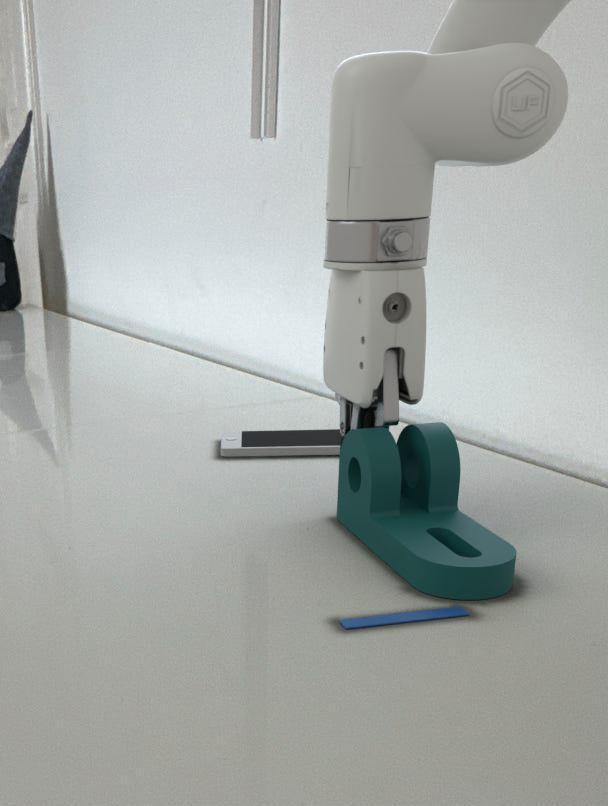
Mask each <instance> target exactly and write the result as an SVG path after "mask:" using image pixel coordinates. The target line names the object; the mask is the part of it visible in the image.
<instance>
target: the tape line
mask: <svg viewBox="0 0 608 806" xmlns="http://www.w3.org/2000/svg"><path fill="white" fill-rule="evenodd" d="M469 615H470V613H469V612H468V611H467V610H465V609H464V608H463V607H462V606H459V605H458V606H451V607H443V608H435V609H426V610H417V611H407V612H397V613H390V614H381V615H372V616H363V617H355V618H346V619H339V620H338V623H340V625H341V626H342V627H343V628H344V629H345V630H352V629H361V628H369V627H377V626H385V625H394V624H395V625H396V624H403V623H411V622H412V623H413V622H420V621H429V620H436V619H437V620H438V619H439V620H440V619H446V618H454V617H455V618H457V617H464V616H465V617H466V616H469Z"/></svg>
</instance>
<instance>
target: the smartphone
mask: <svg viewBox="0 0 608 806" xmlns="http://www.w3.org/2000/svg"><path fill="white" fill-rule="evenodd" d="M341 437H345V436H342V435H341V433H340V428H326V429H325V428H323V429H322V428H319V429H273V430H272V429H271V430H270V429H269V430H268V429H267V430H228V431H227V430H225V431H222V432H221V440H220V441H221V442H220V456H221V457H269V456H270V457H271V456H273V457H274V456H323V455H324V456H325V455H327V456H329V455H331V456H333V455H334V456H335V455H340V441H341Z"/></svg>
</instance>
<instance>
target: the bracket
mask: <svg viewBox="0 0 608 806" xmlns="http://www.w3.org/2000/svg"><path fill="white" fill-rule="evenodd" d="M337 480H338V481H337V499H336V500H337V501H336V503H337V504H336V520H337V521H338V522H339V523H340V524H341V525H342V526H344V527H345V528H346V529H347V530H348V531H349V532H351V533H352V534H353V535H354V536H355V537H356V538H357V539H358V540H360V541H361V542H362V543H363V544H364V545H365V546H366V547H367V548H368V549H370V550H371V551H372V552H373V553H374V554H375V555H377V556H378V557H379V558H380V559H381V560H382V561H383V562H384V563H386V565H388V567H390V568H391V569H392V570H393V571H395V573H397V574H398V575H399V576H400V577H401V578H402V579H404V581H406V582H407V583H408V584H409V585H410V586H411V587H413V588H414V589H416V590H418V591H420V592H422V593H425V594H427V595H430V596H433V597H438V598H443V599H449V600H457V601H459V600H460V601H478V600H487V599H492V598H493V599H494V598H497V597H500V596H503V595H505V594H507V593H509V591H510V590H512V588H513V584H514V576H515V569H516V561H517V554H518V553H517V549H516V547H514V545H513V544H511V543H510V542H508V541H506V540H505V539H503V538H502V537H501V536H499V535H497V534H496V533H494V532H493V531H492V530H490V529H488V528H487V527H485V526H484V525H482V524H480V523H479V522H477V521H476V520H474V519H473V518H472V517H470V516H468V515H467V514H465V513H463V512H462V511H461V510H460V509H459V506H458V505H459V495H460V494H459V493H460V485H461V484H460V483H461V457H460V451H459V445H458V443H457V440H456V437H455V435H454V433H453V431H452V429H451V428H450V426H448V425H447V424H446V423H444V422H440V421H437V422H426V423H414V424H408V425H406V426H404V427H403V428H402V430H401V431H400V433H399V435H398V437H397V440H395V437H394V435H393V433H392V432H391V430H390V429H389V430H388V429H387V428H385V427H376V428H364V429H352V430H350V431H349V432H348V433H347V434H346V435H345V437H344V440H343V442H342V446H341V451H340V454H339V458H338V479H337Z"/></svg>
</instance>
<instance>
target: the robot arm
mask: <svg viewBox="0 0 608 806" xmlns="http://www.w3.org/2000/svg"><path fill="white" fill-rule="evenodd" d="M571 1H572V0H452V1H451V3H450V5H449V6H448V8H447V11H446V12H445V15H444V17H443V19H442V21H441V22H440V24H439V26H438V28H437V30H436V32H435V34H434V36H433V38H432V40H431V43H430V45H429V47H428V49H427V51H426V52H425V51H417V50H389V51H379V52H367V53H362V54H358V55H353V56H349V57H348V58H346V59H344V60H343V61H342V62H340V63H339V64H338V65H337V67H336V69H335V70H334V73H333V75H332V79H331V85H330V86H331V87H330V101H329V102H330V103H329V125H328V149H327V150H328V151H327V168H326V169H327V171H326V172H327V173H326V193H325V217H324V218H325V221H324V238H323V239H324V241H323V260H322V262H323V264H322V268H323V269H327V270H330V276H329V284H328V293H327V301H326V309H325V310H326V311H325V321H324V322H325V323H324V334H323V352H322V354H323V355H322V371H323V372H322V373H323V374H322V375H323V382H324V384H325V386H326V387H327V388H328V389H329V390H330V391H332V392H334V397H335V400H336V402H337V403H338V405H339V429H340V433H341V435H342V436H345V435H346V434H347V433H348V432H349V431H350V430H352V429H364V428H376V427H385V428H387V429H388V430H389V431H390V427H393V426H398V425H399V424H400V423H399V422H400V402H402V403H404V404H407V405H409V406H414V405H417V404H419V403H420V401H421V400H422V399H423V397H424V396H423V395H424V389H425V388H424V387H425V371H426V349H427V290H426V278H425V277H426V276H425V268H424V267H426V266H427V264H428V263H427V262H428V250H429V239H430V228H431V217H432V204H433V194H434V193H433V192H434V182H435V181H434V180H435V169H436V168H435V167H436V166H439V167H440V166H441V167H480V168H481V167H499V166H506V165H510V164H513V163H517V162H520V161H522V160H524V159H526V158H528V157H531V156H532V155H534V154H535V153H536V152H538V151H539V150H540V149H542V148H543V147H545V145H546V144H547V143H548V142H549V141H551V139H552V138H553V136H554V135H555V134H556V133H557V132H558V130H559V128H560V127H561V125H562V122H563V120H564V118H565V115H566V113H567V108H568V103H569V86H568V81H567V77H566V74H565V72H564V69H563V68H562V66H561V64H560V63H559V62H558V60H556V58H555V57H554V56H553V55H552V54H551V53H549V52H547V51H546V50H545V49H542V48H540V47H539V46H537V44H538V43H539V42H540V40H541V38H542V37H543V36H544V34H545V33H546V31H547V30H548V29H549V27H550V26H551V24H553V22H554V21H555V20H556V19H557V17H558V16H559V15H560V14H561V12H562V11H563V10H564V9H565V8H566V7H567V5H569V4H570V3H571ZM343 440H344V437H341V441H340V451H341V446H342V442H343Z"/></svg>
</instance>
